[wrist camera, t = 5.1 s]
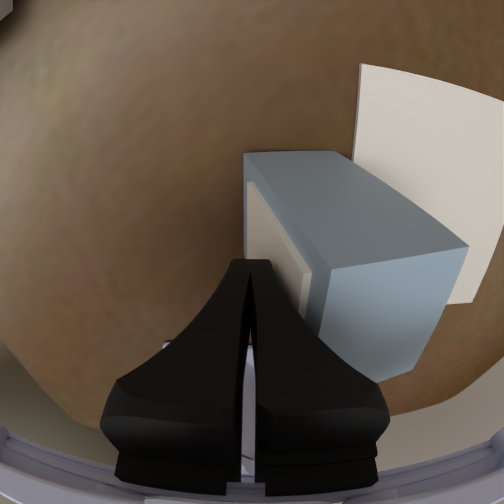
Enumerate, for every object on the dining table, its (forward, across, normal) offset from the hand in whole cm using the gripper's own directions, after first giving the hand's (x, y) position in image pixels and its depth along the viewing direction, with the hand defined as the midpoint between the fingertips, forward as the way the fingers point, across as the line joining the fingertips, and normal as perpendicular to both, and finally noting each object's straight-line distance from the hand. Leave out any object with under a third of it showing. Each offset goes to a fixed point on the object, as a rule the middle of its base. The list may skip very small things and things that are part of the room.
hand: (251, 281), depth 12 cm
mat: (+8, -12, 0) cm, 14 cm away
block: (+7, -2, 0) cm, 7 cm away
